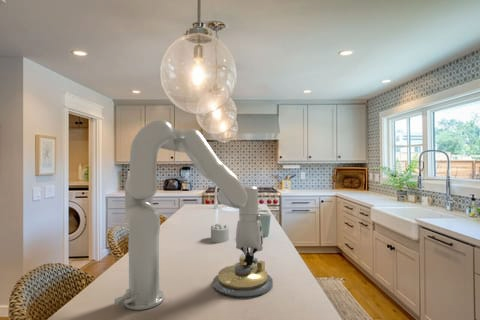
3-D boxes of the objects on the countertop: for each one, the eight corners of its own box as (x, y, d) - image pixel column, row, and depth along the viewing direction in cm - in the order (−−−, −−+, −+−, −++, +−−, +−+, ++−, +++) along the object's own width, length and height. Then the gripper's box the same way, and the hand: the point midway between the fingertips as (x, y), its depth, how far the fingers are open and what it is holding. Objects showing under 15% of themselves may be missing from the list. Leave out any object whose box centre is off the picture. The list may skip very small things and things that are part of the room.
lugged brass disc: (250, 295, 96) (249, 278, 96) (208, 282, 106) (208, 267, 106) (275, 277, 110) (275, 262, 110) (237, 267, 121) (236, 254, 121)
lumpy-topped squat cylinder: (229, 236, 176) (229, 222, 176) (228, 242, 163) (228, 227, 163) (211, 237, 176) (211, 222, 176) (209, 243, 163) (209, 227, 163)
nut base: (250, 304, 93) (250, 294, 93) (200, 287, 106) (200, 278, 106) (283, 281, 110) (283, 272, 110) (236, 268, 123) (236, 261, 123)
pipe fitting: (248, 260, 136) (239, 263, 131) (248, 251, 136) (239, 254, 131) (262, 264, 131) (253, 267, 125) (262, 255, 131) (253, 258, 126)
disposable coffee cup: (272, 237, 173) (271, 212, 173) (254, 238, 173) (253, 212, 173) (270, 233, 183) (270, 209, 183) (253, 233, 183) (253, 209, 183)
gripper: (269, 216, 115) (270, 263, 115) (234, 215, 120) (235, 259, 120) (264, 220, 108) (265, 270, 108) (227, 218, 113) (228, 265, 113)
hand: (249, 264), depth 114 cm, fingers closed
